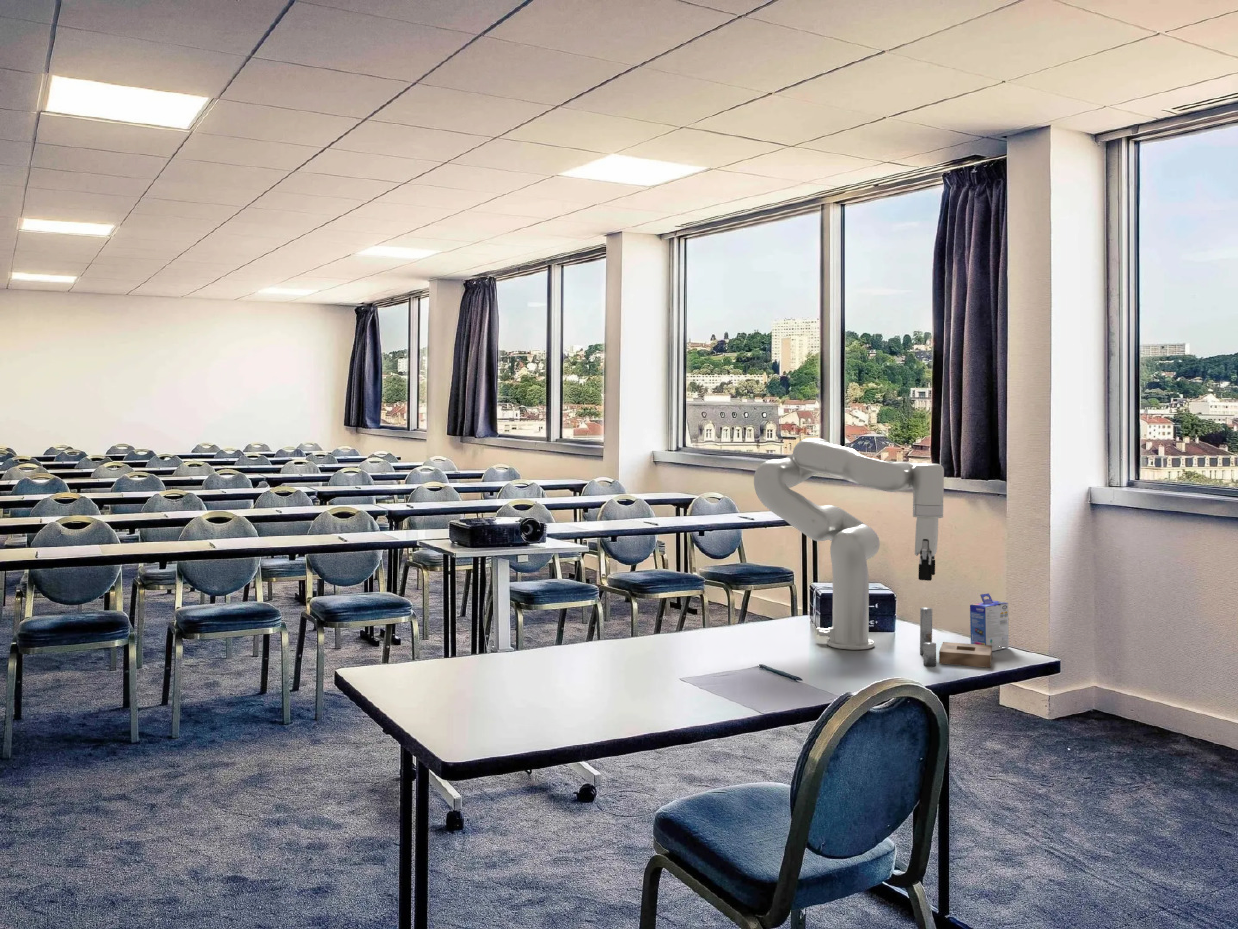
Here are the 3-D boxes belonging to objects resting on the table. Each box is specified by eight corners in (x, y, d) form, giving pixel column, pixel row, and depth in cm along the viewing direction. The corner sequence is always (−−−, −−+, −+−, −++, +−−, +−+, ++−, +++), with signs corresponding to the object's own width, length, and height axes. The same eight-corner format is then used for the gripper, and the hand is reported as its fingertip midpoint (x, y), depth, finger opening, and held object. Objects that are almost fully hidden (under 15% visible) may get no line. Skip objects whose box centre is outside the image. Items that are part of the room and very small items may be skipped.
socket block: (939, 663, 258) (939, 651, 258) (942, 653, 270) (943, 641, 269) (990, 667, 254) (990, 655, 254) (991, 657, 265) (991, 645, 265)
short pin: (922, 666, 256) (922, 644, 255) (923, 663, 258) (924, 641, 258) (935, 667, 254) (935, 645, 254) (936, 664, 257) (936, 642, 257)
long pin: (919, 655, 267) (919, 609, 267) (920, 652, 270) (920, 607, 270) (931, 656, 266) (931, 610, 266) (932, 653, 269) (932, 608, 269)
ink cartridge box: (991, 644, 280) (992, 591, 279) (1009, 648, 275) (1010, 594, 275) (968, 649, 274) (969, 595, 274) (986, 653, 270) (987, 598, 269)
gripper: (916, 508, 276) (915, 572, 277) (909, 513, 260) (908, 581, 261) (945, 509, 273) (944, 573, 274) (940, 514, 257) (939, 583, 258)
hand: (926, 577), depth 267 cm, fingers open, 9 cm apart
